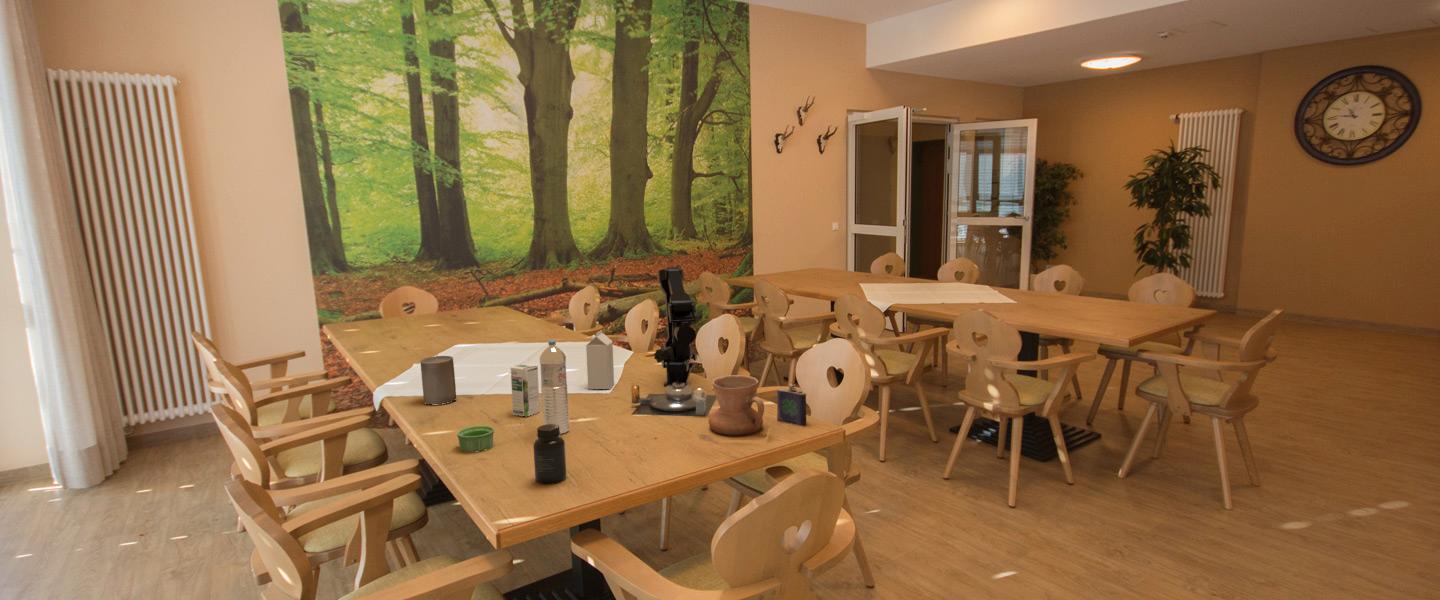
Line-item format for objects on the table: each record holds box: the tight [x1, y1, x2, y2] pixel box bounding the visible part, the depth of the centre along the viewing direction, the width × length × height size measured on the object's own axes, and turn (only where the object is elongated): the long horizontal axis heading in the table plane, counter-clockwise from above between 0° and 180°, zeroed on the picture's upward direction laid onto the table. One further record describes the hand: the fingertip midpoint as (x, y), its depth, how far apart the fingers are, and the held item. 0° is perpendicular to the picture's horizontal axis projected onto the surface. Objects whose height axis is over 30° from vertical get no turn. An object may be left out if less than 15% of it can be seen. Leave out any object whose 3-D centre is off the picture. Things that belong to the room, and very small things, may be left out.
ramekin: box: [456, 425, 495, 453], centre depth 183 cm, size 9×9×4 cm
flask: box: [776, 384, 807, 427], centre depth 198 cm, size 9×3×11 cm, turn 50°
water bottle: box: [539, 340, 570, 435], centre depth 192 cm, size 7×7×25 cm
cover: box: [665, 382, 693, 400], centre depth 218 cm, size 8×8×4 cm
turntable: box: [630, 384, 696, 411], centre depth 215 cm, size 16×22×5 cm
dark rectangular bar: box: [692, 387, 708, 416], centre depth 203 cm, size 3×4×8 cm
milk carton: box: [585, 329, 615, 390], centre depth 238 cm, size 7×7×19 cm
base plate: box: [630, 393, 717, 417], centre depth 215 cm, size 22×22×1 cm
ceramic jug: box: [708, 374, 765, 437], centre depth 190 cm, size 18×14×14 cm
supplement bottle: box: [533, 424, 567, 485], centre depth 160 cm, size 7×7×12 cm
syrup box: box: [510, 363, 541, 418], centre depth 210 cm, size 6×6×14 cm
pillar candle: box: [419, 354, 457, 405], centre depth 225 cm, size 10×10×15 cm
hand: (682, 387), depth 224 cm, fingers closed
